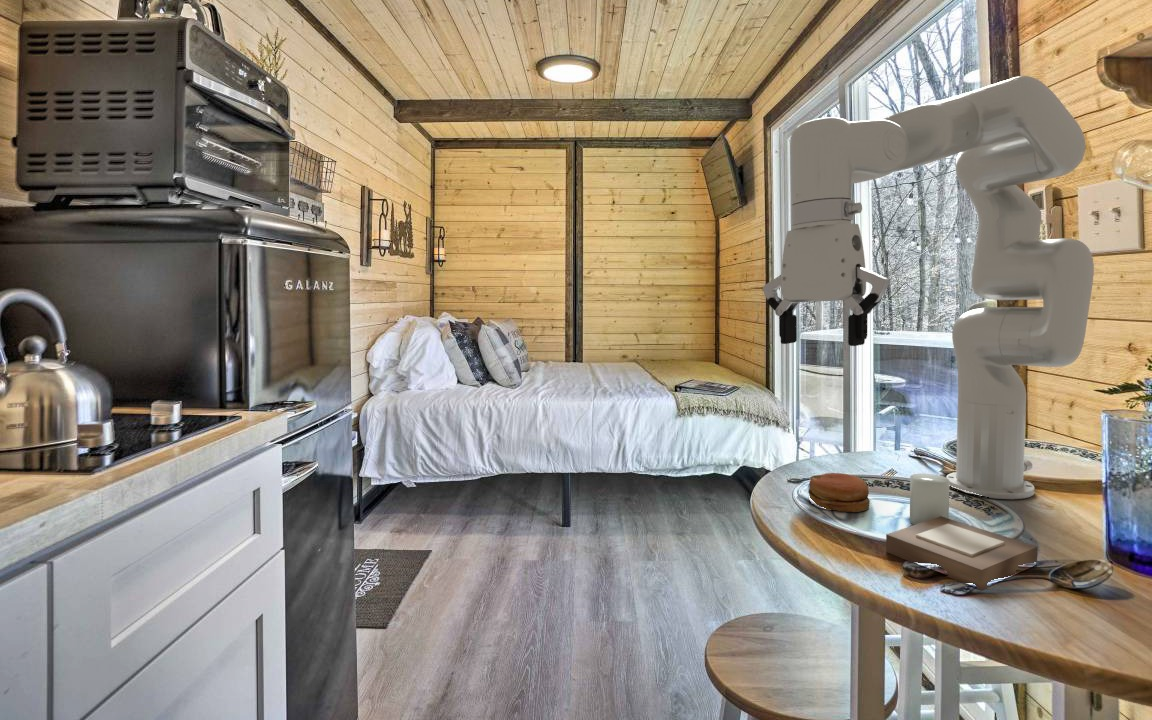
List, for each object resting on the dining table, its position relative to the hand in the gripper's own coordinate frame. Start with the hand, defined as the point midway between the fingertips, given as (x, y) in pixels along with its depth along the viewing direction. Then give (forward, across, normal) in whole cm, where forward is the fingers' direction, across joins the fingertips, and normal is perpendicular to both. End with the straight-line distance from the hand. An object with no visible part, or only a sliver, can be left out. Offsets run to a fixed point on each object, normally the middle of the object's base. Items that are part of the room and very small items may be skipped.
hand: (821, 344), depth 78 cm
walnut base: (+28, -14, -8) cm, 33 cm away
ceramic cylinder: (+29, -8, -18) cm, 34 cm away
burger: (+29, +6, -17) cm, 34 cm away
